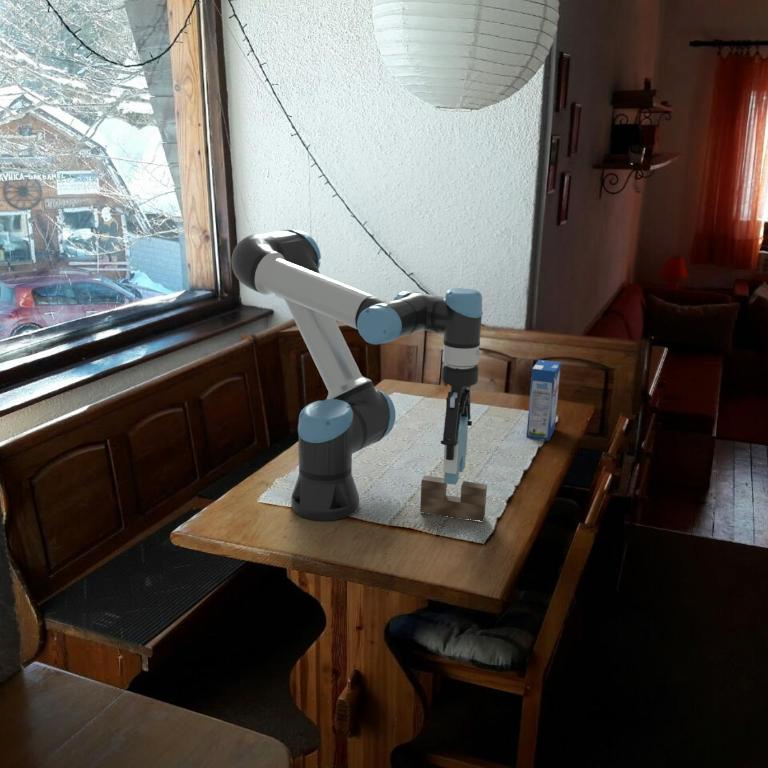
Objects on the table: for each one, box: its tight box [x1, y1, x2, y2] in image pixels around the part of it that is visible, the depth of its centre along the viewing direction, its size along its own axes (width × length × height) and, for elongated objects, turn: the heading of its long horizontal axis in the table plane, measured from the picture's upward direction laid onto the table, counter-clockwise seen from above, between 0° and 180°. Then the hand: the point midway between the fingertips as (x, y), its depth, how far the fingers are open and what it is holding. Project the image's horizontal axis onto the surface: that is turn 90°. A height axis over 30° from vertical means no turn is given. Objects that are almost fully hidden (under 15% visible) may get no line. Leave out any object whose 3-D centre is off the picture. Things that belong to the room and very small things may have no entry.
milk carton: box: [526, 359, 562, 442], centre depth 223 cm, size 10×6×20 cm, turn 159°
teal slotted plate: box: [443, 416, 468, 486], centre depth 172 cm, size 10×2×12 cm, turn 163°
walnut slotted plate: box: [419, 475, 488, 522], centre depth 176 cm, size 14×2×8 cm, turn 73°
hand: (455, 462), depth 173 cm, fingers closed on teal slotted plate, 10 cm apart
